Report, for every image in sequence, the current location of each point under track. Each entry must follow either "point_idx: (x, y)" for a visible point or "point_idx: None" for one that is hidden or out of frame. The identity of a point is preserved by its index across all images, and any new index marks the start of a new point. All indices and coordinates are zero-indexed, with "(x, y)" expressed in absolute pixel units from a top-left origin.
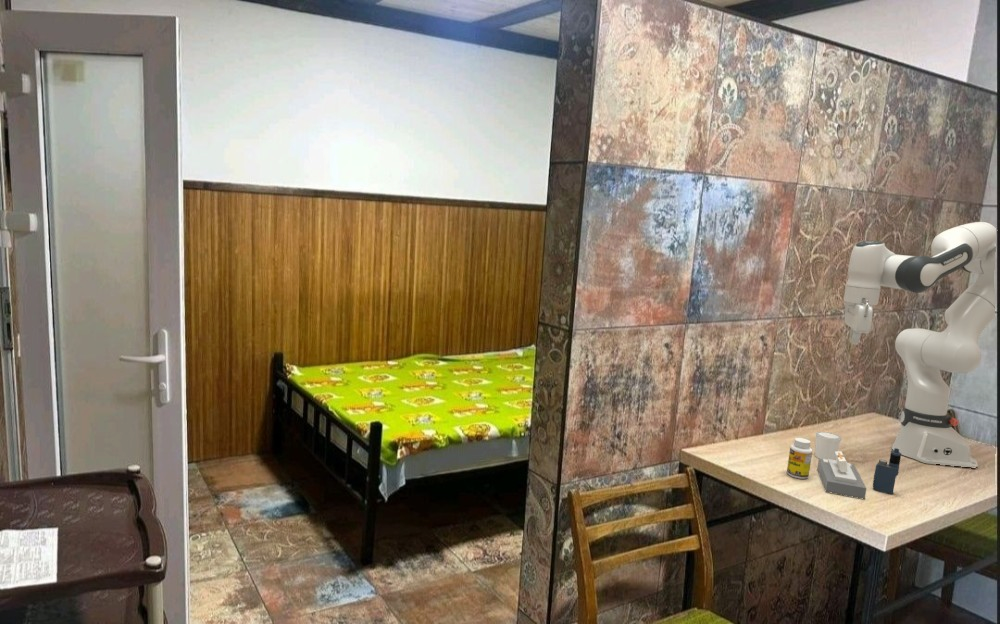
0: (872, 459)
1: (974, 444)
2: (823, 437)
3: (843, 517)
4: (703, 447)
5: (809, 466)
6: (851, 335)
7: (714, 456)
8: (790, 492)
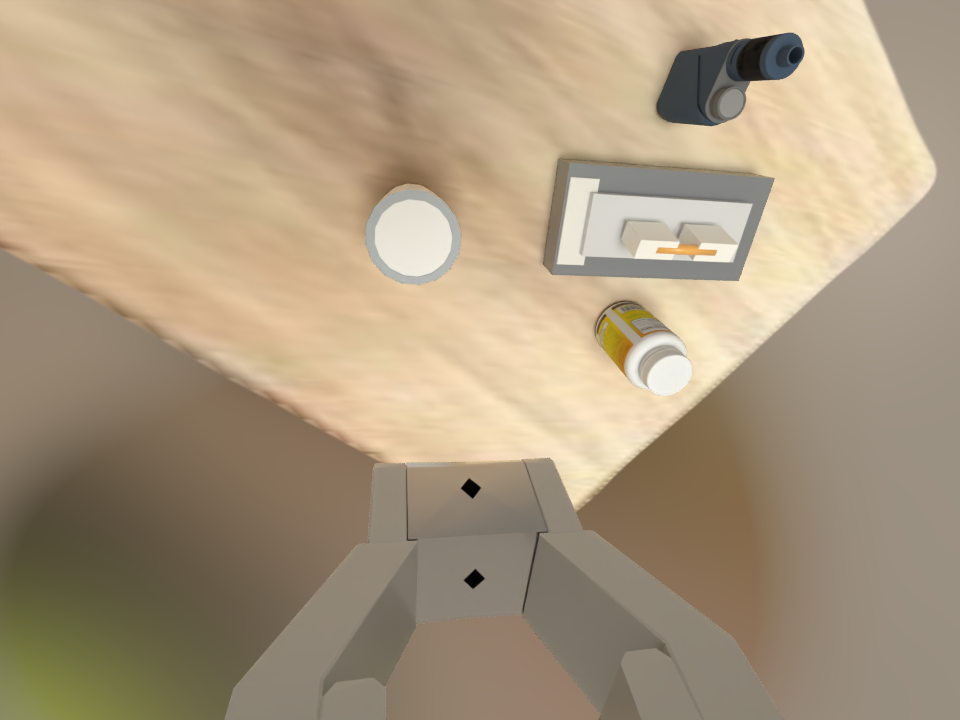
0: (324, 8)
1: None
2: (452, 263)
3: (857, 256)
4: None
5: (654, 317)
6: (397, 660)
7: None
8: (733, 350)
